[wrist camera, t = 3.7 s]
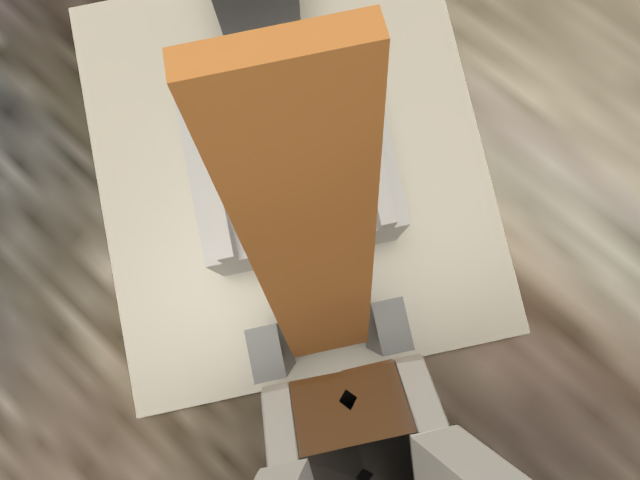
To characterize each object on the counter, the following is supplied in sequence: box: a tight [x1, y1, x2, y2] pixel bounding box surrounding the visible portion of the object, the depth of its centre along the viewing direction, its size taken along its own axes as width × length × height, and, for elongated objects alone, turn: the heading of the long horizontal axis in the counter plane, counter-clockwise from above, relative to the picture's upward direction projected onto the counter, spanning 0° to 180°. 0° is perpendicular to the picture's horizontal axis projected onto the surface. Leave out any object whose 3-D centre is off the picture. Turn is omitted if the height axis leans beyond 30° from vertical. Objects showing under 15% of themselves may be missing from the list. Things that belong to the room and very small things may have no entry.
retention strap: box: [162, 4, 390, 358], centre depth 16 cm, size 18×3×1 cm
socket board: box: [69, 0, 530, 419], centre depth 28 cm, size 20×22×11 cm
